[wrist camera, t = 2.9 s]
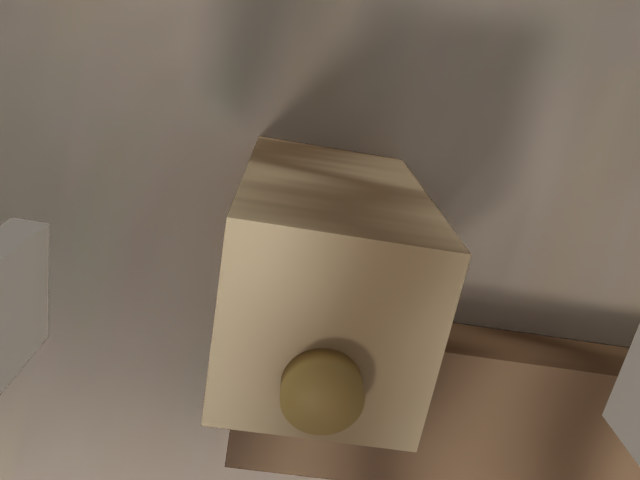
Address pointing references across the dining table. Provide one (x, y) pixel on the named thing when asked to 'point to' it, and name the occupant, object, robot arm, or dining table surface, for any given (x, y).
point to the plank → (482, 419)
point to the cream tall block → (331, 299)
